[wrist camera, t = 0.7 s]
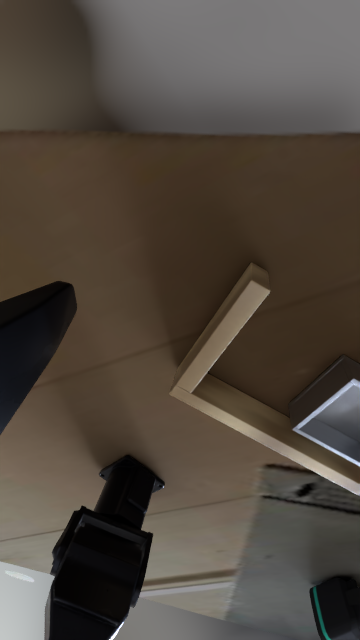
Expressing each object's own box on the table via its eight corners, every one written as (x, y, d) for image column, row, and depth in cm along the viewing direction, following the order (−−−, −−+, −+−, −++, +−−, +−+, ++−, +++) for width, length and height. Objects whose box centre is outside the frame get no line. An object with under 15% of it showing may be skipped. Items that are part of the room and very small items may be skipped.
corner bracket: (484, 397, 24) (517, 433, 21) (364, 470, 30) (376, 505, 27) (251, 261, 22) (251, 279, 19) (177, 368, 28) (168, 394, 26)
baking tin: (423, 400, 25) (443, 428, 22) (359, 443, 28) (369, 472, 26) (343, 354, 24) (353, 378, 22) (287, 404, 28) (291, 429, 25)
